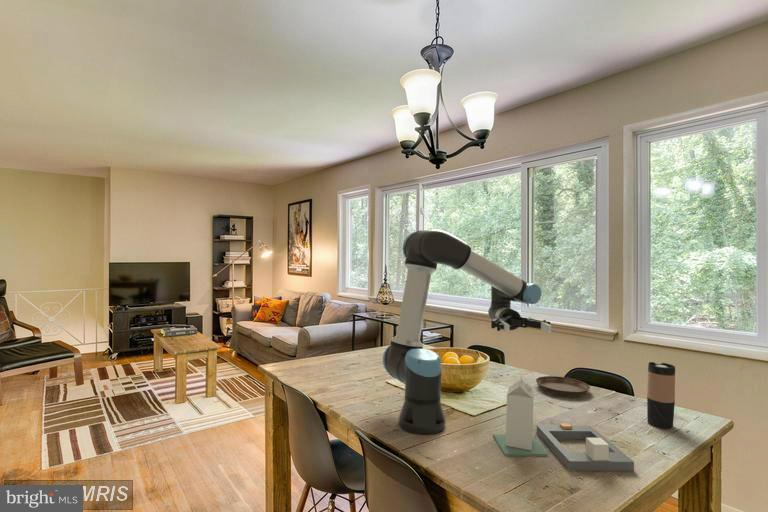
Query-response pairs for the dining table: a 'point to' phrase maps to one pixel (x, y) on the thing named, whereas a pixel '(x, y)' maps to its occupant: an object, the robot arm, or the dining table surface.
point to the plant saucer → (562, 386)
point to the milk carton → (519, 416)
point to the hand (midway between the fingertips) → (529, 329)
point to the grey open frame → (597, 449)
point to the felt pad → (513, 451)
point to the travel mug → (661, 395)
